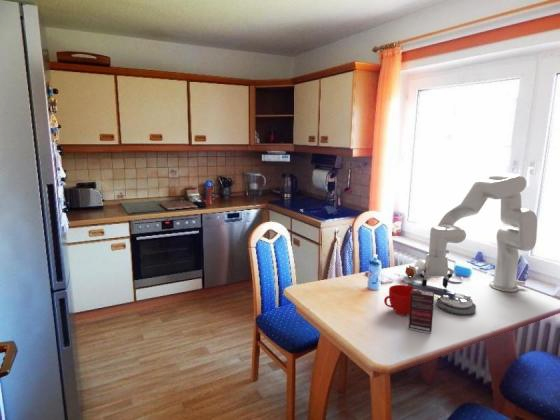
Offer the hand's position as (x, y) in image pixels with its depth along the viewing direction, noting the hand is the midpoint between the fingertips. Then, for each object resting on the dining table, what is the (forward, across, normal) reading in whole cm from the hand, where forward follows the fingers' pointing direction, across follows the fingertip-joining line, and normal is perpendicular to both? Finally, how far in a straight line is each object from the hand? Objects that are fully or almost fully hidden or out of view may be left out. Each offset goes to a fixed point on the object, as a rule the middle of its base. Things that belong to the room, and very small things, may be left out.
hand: (434, 286), depth 178 cm
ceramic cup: (+5, +22, +18) cm, 29 cm away
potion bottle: (+5, -2, -26) cm, 26 cm away
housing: (+5, -5, +12) cm, 14 cm away
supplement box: (+5, +18, +32) cm, 37 cm away
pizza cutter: (+2, +1, +7) cm, 8 cm away
